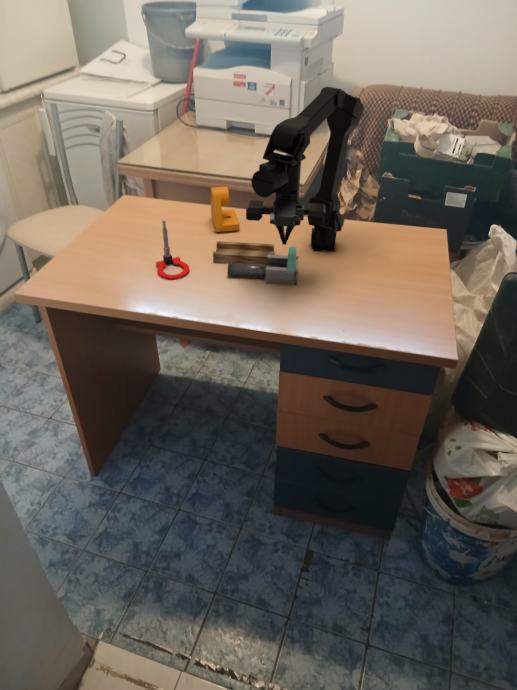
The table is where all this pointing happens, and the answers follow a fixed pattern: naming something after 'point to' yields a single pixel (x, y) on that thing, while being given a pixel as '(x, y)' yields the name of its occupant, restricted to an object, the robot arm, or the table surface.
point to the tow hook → (170, 260)
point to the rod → (248, 270)
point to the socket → (280, 271)
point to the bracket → (222, 211)
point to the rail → (242, 252)
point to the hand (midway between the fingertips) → (284, 243)
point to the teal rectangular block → (291, 259)
